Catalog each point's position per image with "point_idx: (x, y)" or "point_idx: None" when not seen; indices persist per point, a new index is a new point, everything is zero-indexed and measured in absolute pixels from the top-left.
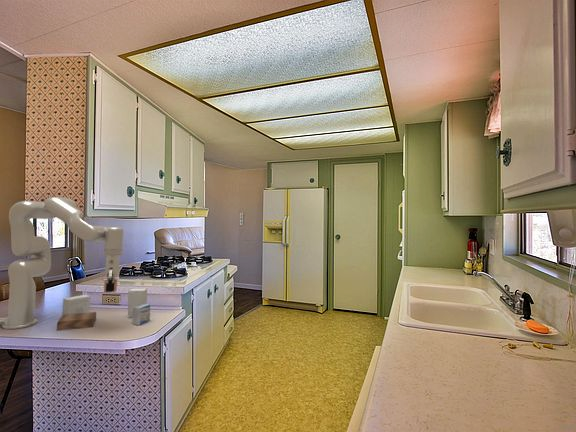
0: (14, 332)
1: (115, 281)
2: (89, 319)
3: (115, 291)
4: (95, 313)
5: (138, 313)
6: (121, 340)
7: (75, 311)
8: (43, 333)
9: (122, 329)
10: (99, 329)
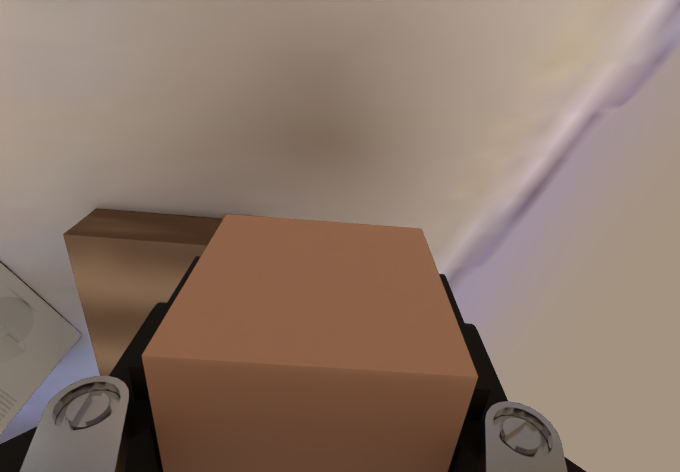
0: None
1: (466, 396)
2: None
3: (421, 237)
4: (111, 238)
5: None
6: (646, 55)
7: (23, 340)
8: None
9: (404, 37)
10: (330, 184)
